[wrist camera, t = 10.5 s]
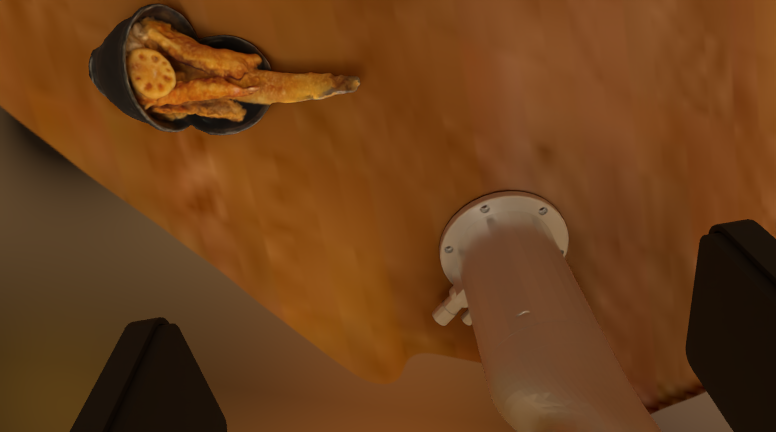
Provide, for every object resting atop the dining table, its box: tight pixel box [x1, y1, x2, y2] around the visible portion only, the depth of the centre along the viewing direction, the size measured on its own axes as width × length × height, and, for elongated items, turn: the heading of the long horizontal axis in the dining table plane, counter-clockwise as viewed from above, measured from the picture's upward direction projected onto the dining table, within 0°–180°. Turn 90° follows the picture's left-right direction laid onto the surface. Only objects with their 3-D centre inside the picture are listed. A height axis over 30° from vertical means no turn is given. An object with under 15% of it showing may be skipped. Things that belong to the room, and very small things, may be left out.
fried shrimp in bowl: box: [89, 4, 360, 135], centre depth 40 cm, size 9×11×18 cm
